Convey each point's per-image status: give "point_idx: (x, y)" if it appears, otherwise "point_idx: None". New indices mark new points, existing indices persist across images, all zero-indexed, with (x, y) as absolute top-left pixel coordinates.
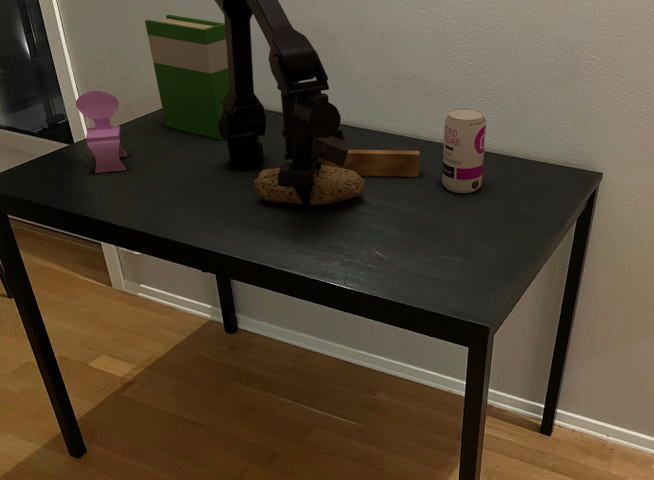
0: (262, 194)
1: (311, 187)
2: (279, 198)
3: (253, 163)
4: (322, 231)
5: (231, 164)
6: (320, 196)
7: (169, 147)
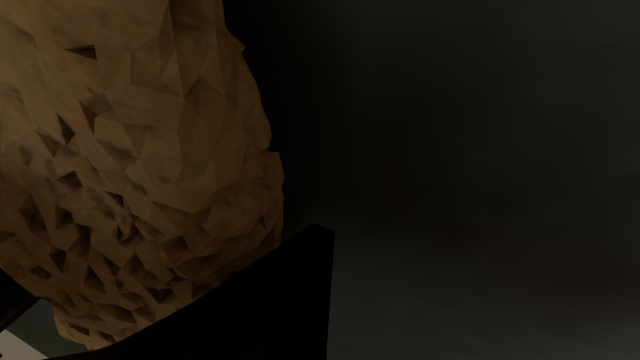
0: None
1: (277, 318)
2: None
3: None
4: (601, 150)
5: None
6: (258, 173)
7: (49, 329)
